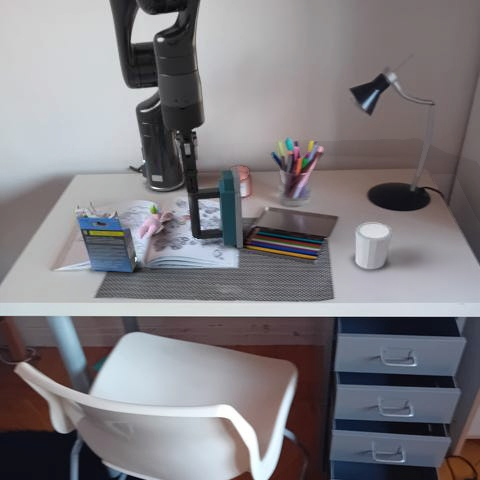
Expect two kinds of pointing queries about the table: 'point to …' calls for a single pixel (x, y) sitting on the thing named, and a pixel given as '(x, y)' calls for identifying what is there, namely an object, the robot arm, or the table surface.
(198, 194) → the iron
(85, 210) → the soldier figure
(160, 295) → the table surface
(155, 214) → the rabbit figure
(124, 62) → the robot arm
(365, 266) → the shot glass
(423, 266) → the table surface
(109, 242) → the tape cartridge
